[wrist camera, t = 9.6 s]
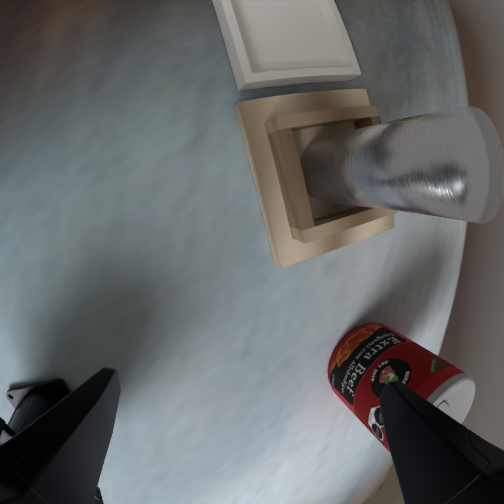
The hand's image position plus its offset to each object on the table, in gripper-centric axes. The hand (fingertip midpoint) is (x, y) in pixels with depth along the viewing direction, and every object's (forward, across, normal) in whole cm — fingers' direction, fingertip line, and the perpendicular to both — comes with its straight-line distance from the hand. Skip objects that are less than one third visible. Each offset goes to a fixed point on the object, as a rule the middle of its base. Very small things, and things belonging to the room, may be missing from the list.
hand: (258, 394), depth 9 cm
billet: (+14, -5, -6) cm, 16 cm away
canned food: (+13, -12, +10) cm, 20 cm away
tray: (+16, -1, -16) cm, 23 cm away
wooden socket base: (+15, -5, -6) cm, 16 cm away
